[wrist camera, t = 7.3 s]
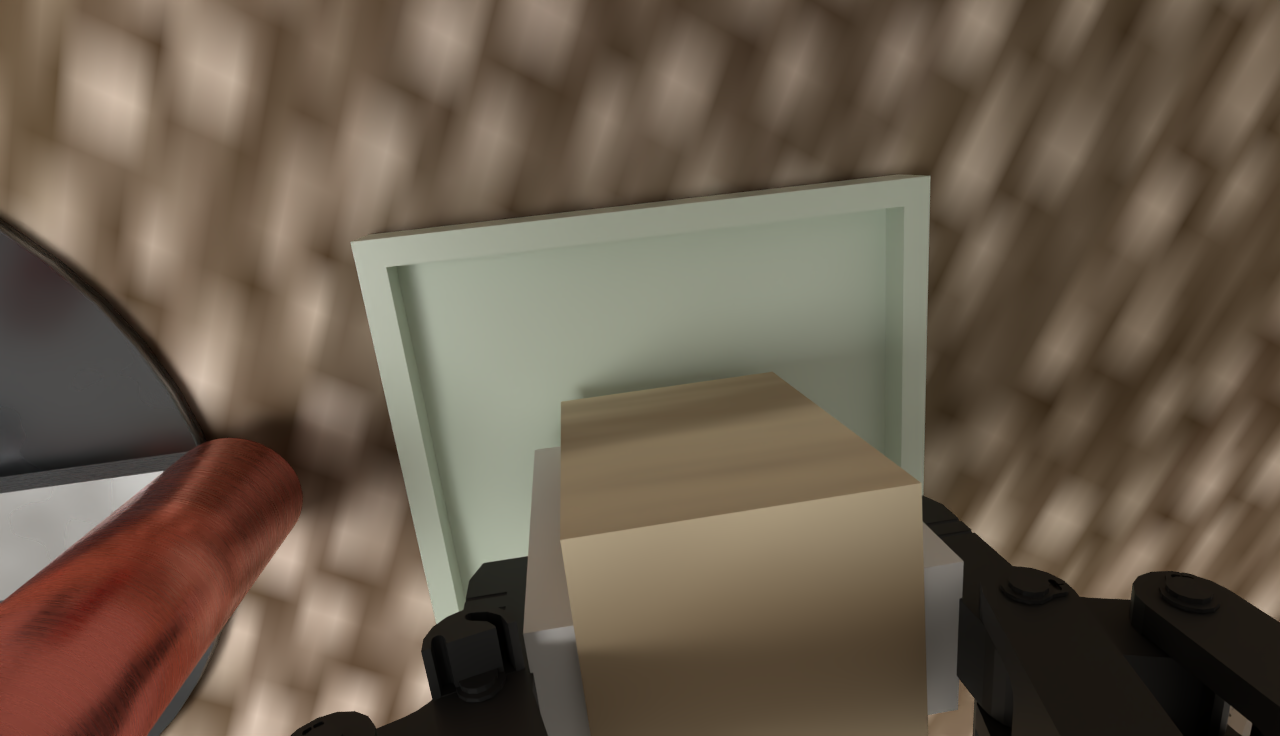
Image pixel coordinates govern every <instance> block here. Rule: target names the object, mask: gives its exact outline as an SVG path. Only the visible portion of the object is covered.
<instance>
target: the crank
mask: <svg viewBox="0 0 1280 736" xmlns="http://www.w3.org/2000/svg"><path fill="white" fill-rule="evenodd" d="M302 503H303V496H302V489H301V485H300V482H299V479H298V477H297V475H296V473H295V472H294V470H293V469H292V467H291V466H290V465H289V464H288V463H287V461H286V460H285V459H284V458H282V457H281V456H280V455H279V454H278V453H276V452H275V451H273V450H272V449H270V448H268V447H266V446H264V445H262V444H259V443H257V442H254V441H250V440H246V439H240V438H220V439H215V440H211V441H208V442H204V443H202V444H200V445H198V446H196V447H194V448H193V449H191V450H190V451H188V452H181V453H174V454H166V455H159V456H152V457H144V458H137V459H130V460H122V461H115V462H108V463H100V464H93V465H86V466H78V467H71V468H64V469H56V470H49V471H42V472H34V473H27V474H20V475H12V476H5V477H0V601H1V600H4V601H2V602H1V603H0V736H147V735H148V733H149V732H150V730H151V729H152V728H153V726H154V725H155V723H156V722H157V721H158V719H159V718H160V716H161V715H162V713H163V712H164V711H165V709H166V708H167V706H168V705H169V703H170V702H171V701H172V699H173V698H174V696H175V695H176V693H177V692H178V691H179V689H180V688H181V686H182V685H183V684H184V682H185V681H186V679H187V678H188V676H189V675H190V674H191V672H192V671H193V669H194V668H195V666H196V665H197V664H198V662H199V661H200V659H201V658H202V656H203V655H204V654H205V652H206V651H207V649H208V648H209V647H210V645H211V644H212V642H213V641H214V639H215V638H216V637H217V635H218V634H219V632H220V631H221V629H222V628H223V627H224V625H225V624H226V622H227V621H228V619H229V618H230V617H231V615H232V614H233V612H234V611H235V609H236V608H237V607H238V605H239V604H240V602H241V601H242V600H243V598H244V597H245V595H246V594H247V592H248V591H249V590H250V588H251V587H252V585H253V584H254V582H255V581H256V580H257V578H258V577H259V575H260V574H261V572H262V571H263V570H264V568H265V567H266V565H267V564H268V563H269V561H270V560H271V558H272V557H273V555H274V554H275V553H276V551H277V550H278V548H279V547H280V545H281V544H282V543H283V541H284V540H285V538H286V537H287V535H288V534H289V533H290V531H291V530H292V528H293V527H294V525H295V524H296V522H297V520H298V518H299V516H300V513H301V509H302Z"/></svg>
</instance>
